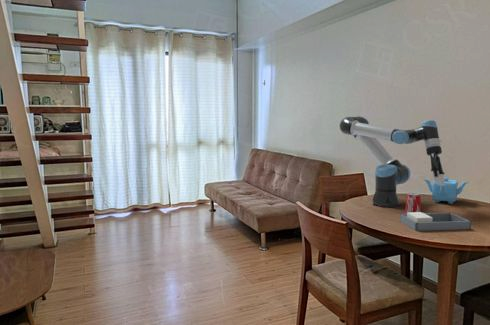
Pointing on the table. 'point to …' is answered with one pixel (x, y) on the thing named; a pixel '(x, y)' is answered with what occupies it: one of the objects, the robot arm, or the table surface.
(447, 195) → the teakettle
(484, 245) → the table surface
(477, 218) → the table surface
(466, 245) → the table surface
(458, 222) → the tote
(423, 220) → the cream rectangular box
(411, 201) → the soda can
